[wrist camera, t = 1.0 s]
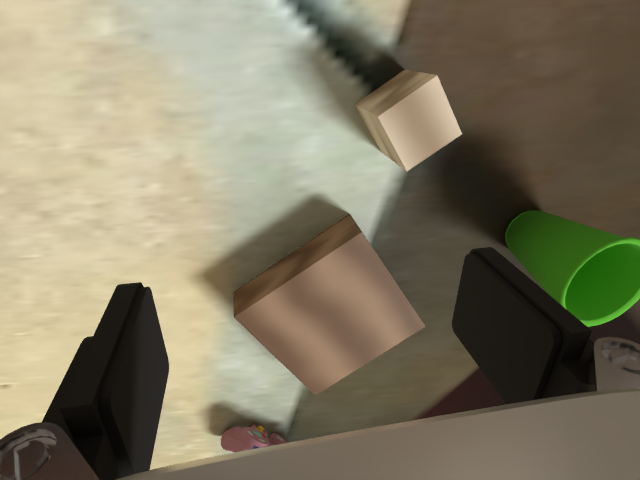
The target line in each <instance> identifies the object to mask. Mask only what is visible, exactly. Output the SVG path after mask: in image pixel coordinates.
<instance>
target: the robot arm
mask: <svg viewBox="0 0 640 480" xmlns="http://www.w3.org/2000/svg"><path fill="white" fill-rule="evenodd" d="M452 327H453V331H454V333H455V334H456V336H457V337H458V338H459V340H460V341H461V343H462V344H463V345H464V347H465V348H466V349H467V351H468V352H469V354H470V355H471V356H472V358H473V359H474V360H475V362H476V363H477V365H478V366H479V367H480V369H481V370H482V371H483V373H484V374H485V375H486V377H487V378H488V380H489V381H490V382H491V384H492V385H493V386H494V388H495V389H496V391H497V392H498V393H499V395H500V396H501V397H502V398H503V400H504V401H505V403H506V404H507V405H502V406H496V407H490V408H484V409H478V410H472V411H466V412H460V413H454V414H449V415H443V416H437V417H431V418H425V419H420V420H414V421H408V422H402V423H397V424H391V425H385V426H380V427H374V428H368V429H363V430H357V431H351V432H345V433H340V434H334V435H329V436H323V437H318V438H312V439H307V440H301V441H296V442H290V443H285V444H279V445H273V446H268V447H262V448H257V449H251V450H246V451H240V452H235V453H230V454H225V455H220V456H215V457H210V458H205V459H200V460H195V461H190V462H185V463H180V464H174V465H170V466H166V467H161V468H157V469H153V470H149V469H150V464H151V459H152V454H153V449H154V444H155V439H156V434H157V429H158V424H159V419H160V414H161V409H162V403H163V398H164V393H165V388H166V383H167V378H168V373H169V361H168V356H167V352H166V348H165V344H164V340H163V336H162V332H161V328H160V324H159V320H158V316H157V312H156V308H155V304H154V300H153V296H152V292H151V289H150V287H143V285H142V283H130V284H120V285H117V287H116V289H115V291H114V293H113V295H112V297H111V299H110V302H109V304H108V306H107V308H106V310H105V312H104V314H103V317H102V319H101V321H100V323H99V325H98V327H97V329H96V331H95V334H94V336H91V337H87V338H85V339H84V340H83V341H82V343H81V344H80V346H79V348H78V350H77V352H76V354H75V357H74V359H73V361H72V363H71V365H70V367H69V369H68V371H67V373H66V375H65V377H64V379H63V381H62V383H61V385H60V387H59V389H58V391H57V393H56V395H55V397H54V399H53V401H52V403H51V405H50V407H49V409H48V411H47V413H46V415H45V417H44V419H43V421H42V423H34V424H30V425H27V426H24V427H21V428H19V429H17V430H15V431H13V432H11V433H9V434H7V435H6V436H5V437H3V438H2V439H0V480H640V345H638V344H636V343H634V342H631V341H628V340H626V339H620V338H616V337H605V338H600V339H598V340H597V341H596V342H595V343H594V342H593V341H591V340H590V339H589V336H590V334H591V332H592V330H591V329H589V328H588V327H587V326H586V325H585V324H583V323H582V322H581V321H580V320H579V319H577V318H576V317H575V316H574V315H573V314H571V313H570V312H569V311H568V310H567V309H565V308H564V307H563V306H562V305H561V304H559V303H558V302H557V301H556V300H555V299H553V298H552V297H551V296H550V295H549V294H548V293H546V292H545V291H544V290H543V289H542V288H540V287H539V286H538V285H537V284H536V283H534V282H533V281H532V280H531V279H530V278H528V277H527V276H526V275H525V274H524V273H522V272H521V271H520V270H519V269H518V268H516V267H515V266H514V265H513V264H512V263H510V262H509V261H508V260H507V259H506V258H504V257H503V256H502V255H501V254H500V253H498V252H497V251H496V250H495V249H493V248H492V247H487V248H477V249H472V250H471V251H470V253H469V254H467V255H466V256H465V260H464V265H463V270H462V275H461V280H460V285H459V290H458V295H457V300H456V305H455V310H454V314H453V319H452Z"/></svg>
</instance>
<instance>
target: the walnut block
mask: <svg viewBox="0 0 640 480" xmlns="http://www.w3.org/2000/svg"><path fill="white" fill-rule="evenodd" d="M234 318H235V319H236V320H237V321H238V322H239V323H240V324H242V325H243V326H244V327H245V328H246V329H247V330H248V331H249V332H250V333H251V334H252V335H253V336H254V337H255V338H256V339H257V340H258V341H259V342H260V343H261V344H262V345H263V346H264V347H266V348H267V349H268V350H269V351H270V352H271V353H272V354H273V355H274V356H275V357H276V358H277V359H278V360H279V361H280V362H281V363H282V364H283V365H284V366H285V367H286V368H287V369H289V370H290V371H291V372H292V373H293V374H294V375H295V376H296V377H297V378H298V379H299V380H300V381H301V382H302V383H303V384H304V385H305V386H306V387H307V388H308V389H309V390H310V391H311V392H313V393H314V394H315V395H317V394H318V393H320V392H321V391H323V390H325V389H326V388H328V387H329V386H331V385H333V384H334V383H336V382H337V381H339V380H341V379H342V378H344V377H345V376H347V375H349V374H350V373H352V372H353V371H355V370H357V369H358V368H360V367H361V366H363V365H365V364H366V363H368V362H369V361H371V360H373V359H374V358H376V357H377V356H379V355H381V354H382V353H384V352H385V351H387V350H389V349H390V348H392V347H393V346H395V345H397V344H398V343H400V342H401V341H403V340H405V339H406V338H408V337H409V336H411V335H413V334H414V333H416V332H417V331H419V330H421V329H422V328H424V327H425V325H424V324H423V322H422V321H421V319H420V318H419V316H418V315H417V313H416V312H415V310H414V309H413V307H412V306H411V304H410V303H409V301H408V300H407V298H406V297H405V295H404V294H403V292H402V291H401V289H400V288H399V287H398V285H397V284H396V282H395V281H394V279H393V278H392V276H391V275H390V273H389V272H388V270H387V269H386V267H385V266H384V264H383V263H382V261H381V260H380V258H379V257H378V255H377V254H376V252H375V251H374V249H373V248H372V246H371V245H370V243H369V242H368V240H367V239H366V237H365V236H364V234H363V233H362V231H361V230H360V228H359V227H358V225H357V224H356V222H355V221H354V219H353V218H352V216H351V215H348V216H347V217H345V218H344V219H342V220H341V221H339V222H338V223H336V224H335V225H333V226H332V227H330V228H329V229H327V230H326V231H324V232H323V233H321V234H320V235H318V236H317V237H315V238H314V239H312V240H311V241H309V242H308V243H306V244H305V245H303V246H302V247H300V248H299V249H297V250H296V251H295V252H293V253H292V254H290V255H289V256H287V257H286V258H284V259H283V260H281V261H280V262H278V263H277V264H275V265H274V266H272V267H271V268H269V269H268V270H266V271H265V272H263V273H262V274H260V275H259V276H257V277H256V278H254V279H253V280H251V281H250V282H248V283H247V284H245V285H244V286H242V287H241V288H240V289H238V290H237V291H235V292H234Z"/></svg>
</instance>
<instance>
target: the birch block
mask: <svg viewBox="0 0 640 480" xmlns="http://www.w3.org/2000/svg"><path fill="white" fill-rule="evenodd" d="M355 106H356V108H357V109H358V111H359V113H360V115H361V117H362V118H363V120H364V122H365V124H366V126H367V127H368V129H369V131H370V133H371V135H372V136H373V138H374V140H375V142H376V144H377V145H378V147H379V149H380V151H381V152H382V153H383V154H384V155H386V156H387V157H388V158H390V159H391V160H392V161H394V162H395V163H396V164H398V165H399V166H400V167H402V168H403V169H404V170H406V171H408V170H410V169H411V168H413V167H414V166H416V165H417V164H419V163H420V162H422V161H423V160H425V159H426V158H428V157H429V156H430V155H432V154H433V153H435V152H436V151H438V150H439V149H441V148H442V147H444V146H445V145H447V144H448V143H450V142H451V141H453V140H454V139H456V138H457V137H459V136H460V135H462V133H461V130H460V128H459V126H458V123H457V121H456V119H455V116H454V114H453V111H452V109H451V107H450V104H449V102H448V100H447V97H446V95H445V93H444V90H443V88H442V85H441V83H440V81H439V78H438V76H437V75H432V74H427V73H421V72H415V71H410V70H403V71H402V72H400V73H399V74H398V75H396V76H395V77H393V78H392V79H390V80H389V81H388V82H386V83H385V84H383V85H382V86H381V87H379V88H378V89H376V90H375V91H373V92H372V93H371V94H369V95H368V96H366V97H365V98H363V99H362V100H361V101H359V102H358V103H356V104H355Z"/></svg>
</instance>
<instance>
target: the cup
mask: <svg viewBox="0 0 640 480" xmlns="http://www.w3.org/2000/svg"><path fill="white" fill-rule="evenodd" d="M505 240H506V244H507V246H508V248H509V250H510V251H511V252H512V253H513V254H514V255H515V257H516V258H517V259H518V260H519V261H520V262H521V263H522V265H523V266H524V267H525V268H526V269H527V270H528V271H529V273H530V274H531V275H532V276H533V277H534V278H535V280H536V281H537V282H538V283H539V284H540V285H541V286H542V288H543V289H544V290H545V291H546V292H547V293H548V294H549V295H550V296H551V297H552V298H553V299H555V300H556V301H557V302H558V303H559V304H561V305H562V306H563V307H564V308H565V309H567V310H568V311H569V312H570V313H571V314H573V315H574V316H575V317H576V318H577V319H579V320H580V321H581V322H582V323H583V324H585V325H586V326H587V327H589V326H595V325H600V324H602V323H605V322H608V321H610V320H612V319H614V318H616V317H618V316H619V315H621V314H622V313H624V312H625V311H626V310H628V309H629V308H630V307H631V306H632V305H633V304H634V303H635V302H637V301H638V300H639V298H640V238H634V237H626V238H624V237H621V236H618V235H615V234H612V233H608V232H605V231H602V230H599V229H596V228H593V227H590V226H586V225H583V224H580V223H577V222H574V221H571V220H568V219H564V218H561V217H558V216H555V215H552V214H549V213H546V212H542V211H538V210H535V211H526V212H523V213H521V214H520V215H518V216H517V217H516V218H514V219H513V220H512V222H511V223H510V224H509V226H508V228H507V230H506V234H505Z"/></svg>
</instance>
